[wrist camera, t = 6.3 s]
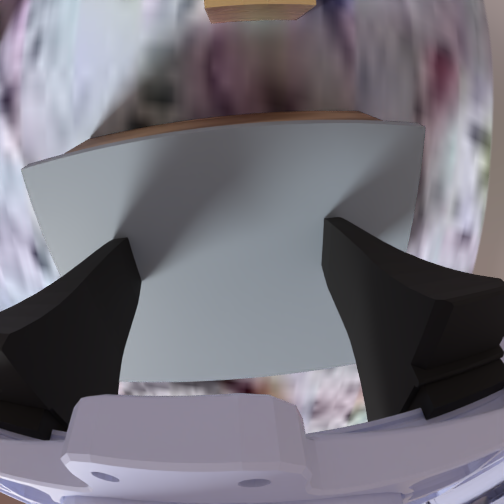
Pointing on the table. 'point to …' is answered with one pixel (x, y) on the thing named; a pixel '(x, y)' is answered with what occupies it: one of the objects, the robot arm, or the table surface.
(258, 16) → the block
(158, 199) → the lid
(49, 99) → the table surface
